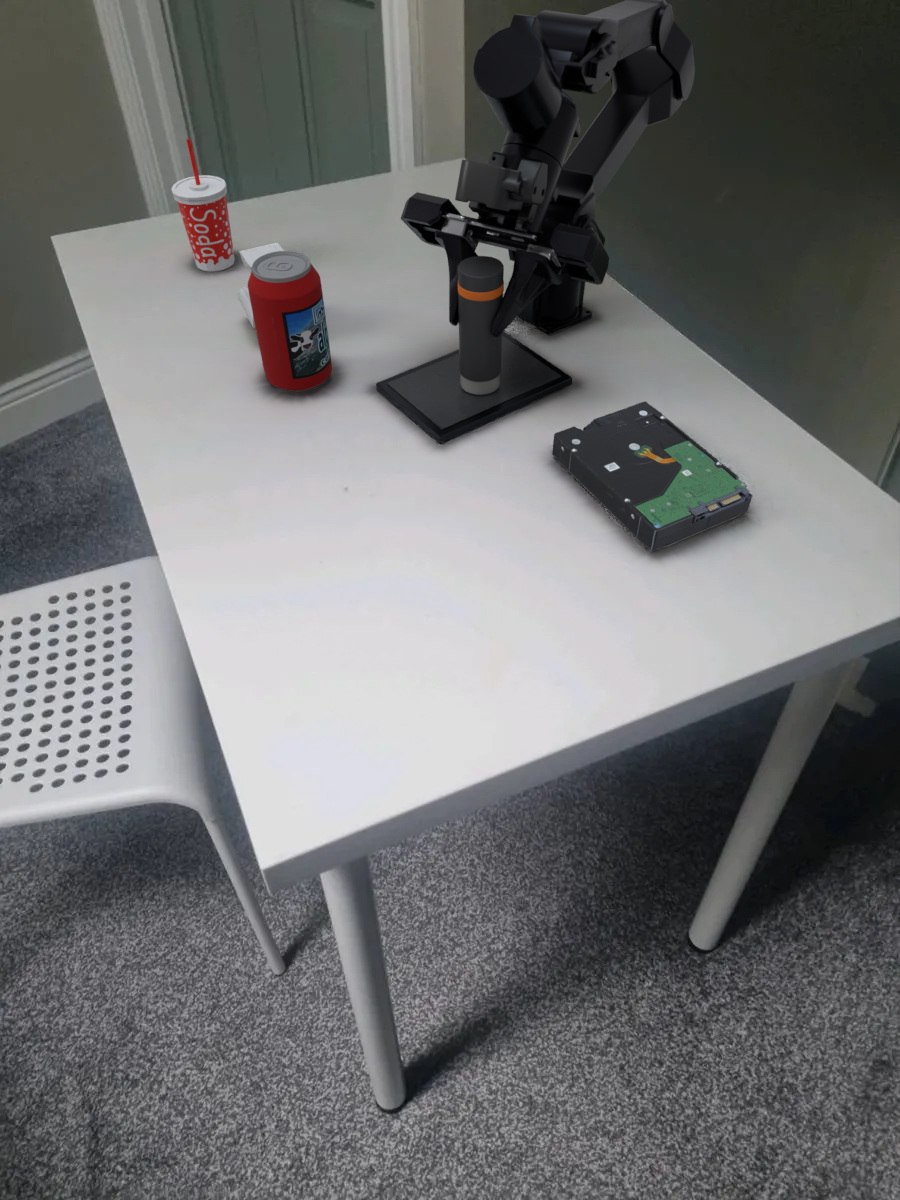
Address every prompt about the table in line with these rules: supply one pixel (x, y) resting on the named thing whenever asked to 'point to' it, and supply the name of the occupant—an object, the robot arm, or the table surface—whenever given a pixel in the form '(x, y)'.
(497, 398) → the tablet
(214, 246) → the beverage cup
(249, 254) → the stamp
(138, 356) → the table surface
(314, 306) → the beverage can
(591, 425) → the disk drive
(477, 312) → the flashlight
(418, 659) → the table surface
